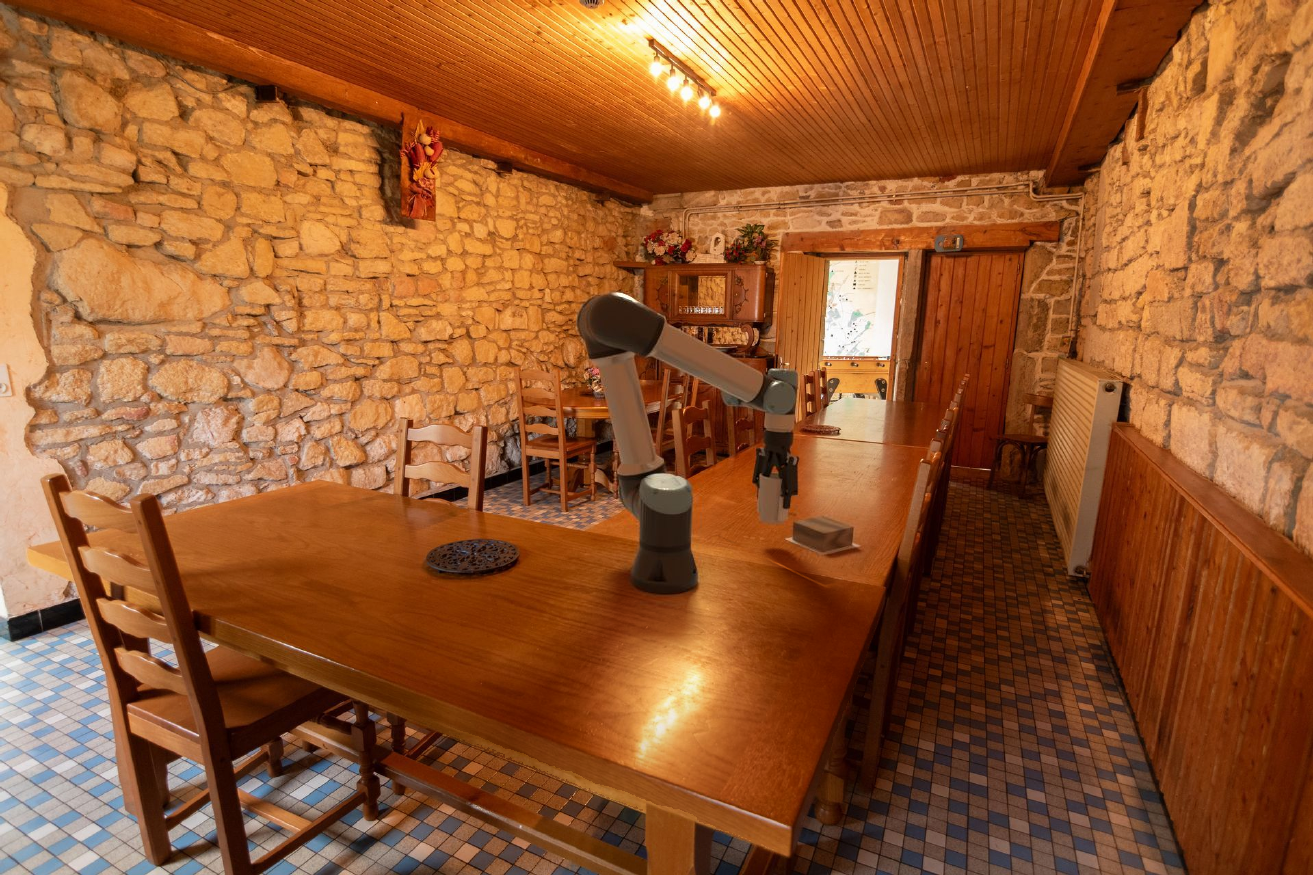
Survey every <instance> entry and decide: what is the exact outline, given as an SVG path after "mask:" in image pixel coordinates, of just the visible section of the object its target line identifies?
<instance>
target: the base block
mask: <svg viewBox="0 0 1313 875" xmlns="http://www.w3.org/2000/svg"><path fill="white" fill-rule="evenodd" d="M792 537H793V538H792V540H795V541H797V542H800V543H802V544H804V545H807V546H809V547H812V548H814V549H817V550H819V551H821V552H825V551H830V550H834V549H838V548H842V547H846V546H850V545H852V543H854V541H853V540H854V526H853V525H850V524H847V523H844V522H841V521H838V520H835V519H832V518H829V517H826V516H824V515H822V516H821V515H820V516H817V517H810V518H805V519H801V520H796V521H793V524H792Z"/></svg>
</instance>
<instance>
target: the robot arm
mask: <svg viewBox="0 0 1313 875" xmlns="http://www.w3.org/2000/svg"><path fill="white" fill-rule="evenodd" d="M576 328H577V331H578V334H579V336H580V337H581V339H582V340H583V341H584V345H585V348H586V349H585V350H586V353H587V356H588V361H590V362H592V363H593V364H595V365H596V366H597V370H598V373H599V378H600V383H601V386H602V389H603V394H604V398H605V403H606V406H607V410H608V414H609V418H610V423H611V425H612V431H613V435H614V439H615V442H616V443H615V444H616V448H617V452H618V454H619V459H620V464H619V466H618V467H617V469H616V473H617V477H618V481H619V482H618V485H617V486H618V491H617V492H618V496H619V499H620V502H621V504H622V505H623V507H624V508H625V509H626V510H627V511H628V512H629V513H630V514H632V516H633V517H634V518H635V519H637V520H638V522H639V524H638V525H639V528H638V529H639V531H638V535H639V536H638V537H639V538H638V539H639V540H638V545H639V546H638V549H637V552H636V555H635V558H634V561H633V565H632V567H631V570H630V582H631V584H632V585H633V586H634V587H635V588H637V589H639V590H642V591H644V592H648V593H652V594H662V595H669V594H670V595H671V594H679V593H683V592H686V591H689V590H692V589H693V588H695V587H696V586H697V584H698V583H699V581H698V580H699V571H698V568H697V565H696V561H695V557H694V554H693V551H692V528H693V527H692V524H693V521H692V520H693V504H694V494H693V487H692V484H691V482H689V481H688V479H686V478H684V477H683V476H679V475H675V474H672V473H668V472H667V468H666V464H665V460H664V458H662V457H661V456H659V455H657V453H656V448H655V444H654V439H653V436H652V432H651V430H652V429H651V426H650V422H649V418H648V413H647V410H646V405H645V404H646V403H645V401H644V396H643V390H642V388H641V383H640V379H639V375H638V374H639V373H638V370H637V366H636V360H635V356H636V355H639V356H640V357H642V358H648V357H653V358H655V359H657V360H659V361H661V362H663V363H665V364H668V366H671V367H674V368H675V369H678V370H680V371H681V372H684V373H686V374H687V375H690V376H691V377H693V378H696V379H698V380H700V381H702V382H704V383H707V385H711V386H712V387H714V388H716V389H719V390H720V391H721V399H722V402H723V403H724V405H726V406H730V407H735V408H737V407H744V408H745V407H746V408H749V409H753V410H756V411H762V412H764V423H763V426H764V428H765V429H764V430H763V435H762V436H763V438H762V443H763V444H764V445H765V446H764V447H756V449H755V456H756V457H755V462H754V469H753V475H752V480H751V482H752V485H753V484H755V485H756V488H757V492H756V498H757V504H756V505H757V506H756V513H758V514H760V474H761V473H763V476H764V477H767V478H769V477H770V475H771V472H772V471H773V470H774V467H775V469H776V471H777V473H778V474H779V479H782V482H781V490H782V495H780V499H779V511H778V521H784V522H785V521H788V519H789V509H790V508H791V502H792V497H793V496H797V495H799V481H798V478H799V476H798V475H799V473H798V472H799V471H798V470H799V469H798V466H799V462H800V457H799V456H798V455H797V456H795V455H793V454H792V453H791V447H792V446H793V444H794V433H795V432H794V431H792V430H795V419H796V408H797V398H798V389H799V374H798V372H797V371H796V370H795V369H787V368H770V369H769V370H768V372H767V374H765V373H763V372H762V371H760V370H757V369H755V368H754V367H751V366H750V365H748V364H746V363H744V362H743V361H740V360H739V359H737V358H735V357H732V356H731V355H729V354H726V353H725V352H723V351H722V350H719V349H717V348H715V347H713V346H711V345H710V344H708V343H706V342H704V341H702V340H700V339H698V338H696V337H695V336H692V335H690V334H688V333H687V332H685V331H683V330H681V329H679V328H677V327H675V326H673V325H671V324H669V323H668V322H667V318H666V317H665V315H662V314H661V313H659V312H657V311H656V310H654V309H652V308H650V307H649V306H647V305H646V304H644V303H642V302H640V301H638V300H637V299H635V298H633V297H631V296H630V295H628V294H624V293H622V292H608V293H605V294H597V295H595V296H592V297H590V298H588V299H587V300H586V301H585V302H584V303H583V304H582V306H580V308H579V310H578V313H577V316H576Z"/></svg>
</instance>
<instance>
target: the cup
mask: <svg viewBox="0 0 1313 875" xmlns="http://www.w3.org/2000/svg"><path fill="white" fill-rule="evenodd" d="M781 482H782V479H779V474H778V472H774V471H773V472H771V475H770V477H769V478H767V477H764V476H763V473H761V474H760V513H759V521H760V522H762V523H765V524H769V525H780V524H784V523H785V521H778V511H779V499H780V495H782V490H781Z"/></svg>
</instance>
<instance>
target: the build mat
mask: <svg viewBox="0 0 1313 875" xmlns="http://www.w3.org/2000/svg"><path fill="white" fill-rule="evenodd" d="M792 538H793V536H791V537H787V538H785V540H786V541H789V542H791V543H793V544H796V545H798V546H800V547H802V548H805V549H807V550H811V551H812V552H814V553H816V554H817V553H818V554H819V555H821V556H824V555H828V554H829V555H830V554H834V553H837V552H841V551H845V550H850V549H854V548H859V547H861V545H859V544H857V543H854V542H853V543H852V545H850V546H846V547H842V548H838V549H834V550H830V551H825V552H821V551H819V550H817V549H814V548H812V547H809V546H807V545H804V544H802V543H800V542H797V541H795V540H792Z"/></svg>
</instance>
